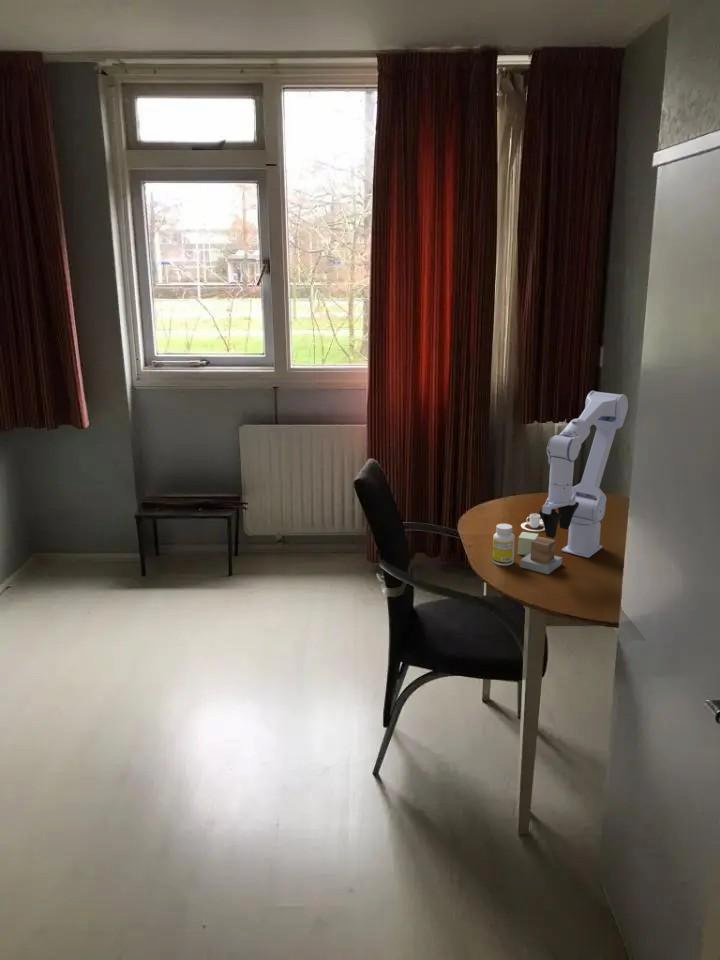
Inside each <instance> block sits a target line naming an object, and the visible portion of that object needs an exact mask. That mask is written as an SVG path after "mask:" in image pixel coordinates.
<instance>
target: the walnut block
mask: <svg viewBox="0 0 720 960" xmlns="http://www.w3.org/2000/svg"><path fill="white" fill-rule="evenodd" d="M555 546H556V540H555V539H552V538H548V537H543V536H538V538H536V539H535V540H533V541H532V543H531V560H535V561H538V562H542V563H548V562H549V561H551V560H552V559H553V558H554V556H555V548H556V547H555Z"/></svg>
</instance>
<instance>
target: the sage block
mask: <svg viewBox="0 0 720 960" xmlns="http://www.w3.org/2000/svg"><path fill="white" fill-rule="evenodd" d="M538 537H539V533H533V532H529V531H527V532H525V531H522V532H521V533H520V534H519V535H518V539H517V540H518V541H517V555H522V556H527V555H528V554H530V553H531V543H532V541H533V540H535V539H536V538H538Z"/></svg>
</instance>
